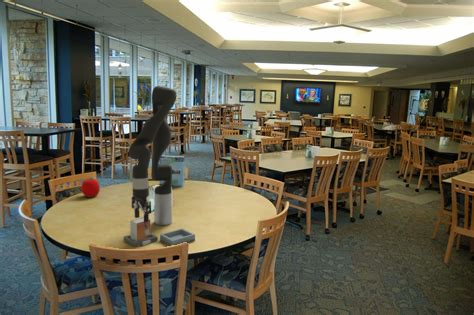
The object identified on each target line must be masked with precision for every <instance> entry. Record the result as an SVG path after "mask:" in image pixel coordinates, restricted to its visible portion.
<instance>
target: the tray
mask: <svg viewBox="0 0 474 315" xmlns="http://www.w3.org/2000/svg"><path fill="white" fill-rule="evenodd" d="M159 240H160V241H161V242H163V243H165V244H166V245H168V246H170V247H171V245H177V244H180V243H183V242H188V243H190V242H193V241H194V242H195V241H196V234H195V233H193V232H191V231H189V230H186V229H184V228H178V229H174V230H171V231H167V232H163V233H160V234H159Z"/></svg>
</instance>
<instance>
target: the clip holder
mask: <svg viewBox="0 0 474 315" xmlns="http://www.w3.org/2000/svg"><path fill="white" fill-rule="evenodd" d="M150 237H151V238H148V239H144V240H140V241H137V242H134V241H133V240H131V235H130V234H128V235H126V236H123V241H124V242H125V243H127V244H128V245H130V246H131V247H133V248H137V247H140V246H145V245H148V244H151V243H154V242H158V236H157V235H155V234H154V233H152V232H150Z"/></svg>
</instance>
